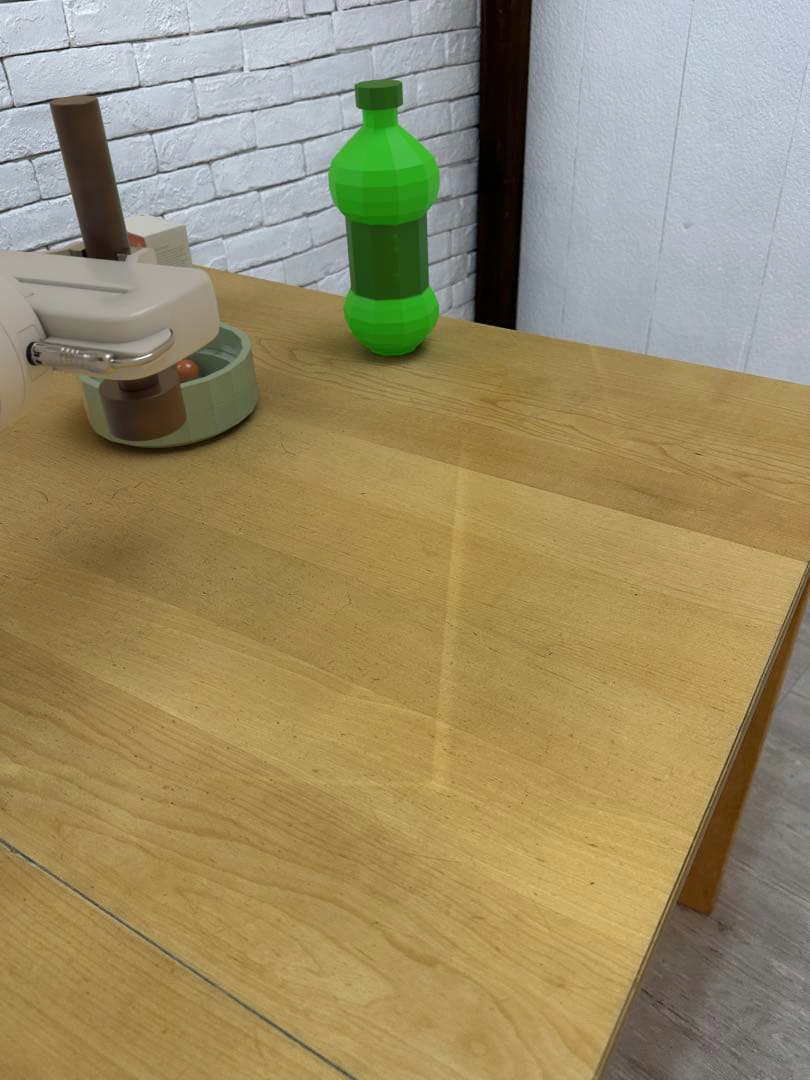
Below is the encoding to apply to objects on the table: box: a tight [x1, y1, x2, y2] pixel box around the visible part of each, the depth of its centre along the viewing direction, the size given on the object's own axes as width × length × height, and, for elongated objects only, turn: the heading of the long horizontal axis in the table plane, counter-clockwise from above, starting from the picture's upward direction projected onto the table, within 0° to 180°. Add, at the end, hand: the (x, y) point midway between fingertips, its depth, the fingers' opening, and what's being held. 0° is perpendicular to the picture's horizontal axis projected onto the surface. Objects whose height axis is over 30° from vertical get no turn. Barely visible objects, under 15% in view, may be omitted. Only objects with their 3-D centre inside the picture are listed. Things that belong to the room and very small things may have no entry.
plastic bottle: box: [327, 78, 441, 357], centre depth 88 cm, size 10×10×25 cm
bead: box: [174, 359, 199, 383], centre depth 88 cm, size 2×2×2 cm
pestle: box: [48, 95, 187, 441], centre depth 55 cm, size 5×5×20 cm
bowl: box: [74, 321, 260, 449], centre depth 84 cm, size 16×16×6 cm
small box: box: [124, 212, 194, 268], centre depth 102 cm, size 8×6×10 cm
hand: (119, 257), depth 56 cm, fingers closed on pestle, 2 cm apart
